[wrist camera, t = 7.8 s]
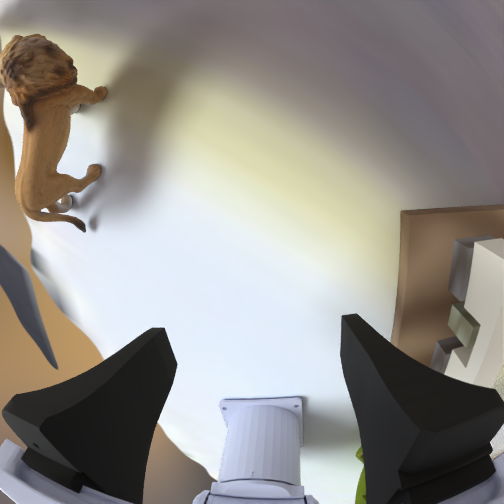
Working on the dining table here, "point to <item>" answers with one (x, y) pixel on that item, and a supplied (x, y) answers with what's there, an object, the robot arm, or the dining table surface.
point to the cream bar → (483, 318)
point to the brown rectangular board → (439, 280)
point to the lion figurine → (45, 123)
